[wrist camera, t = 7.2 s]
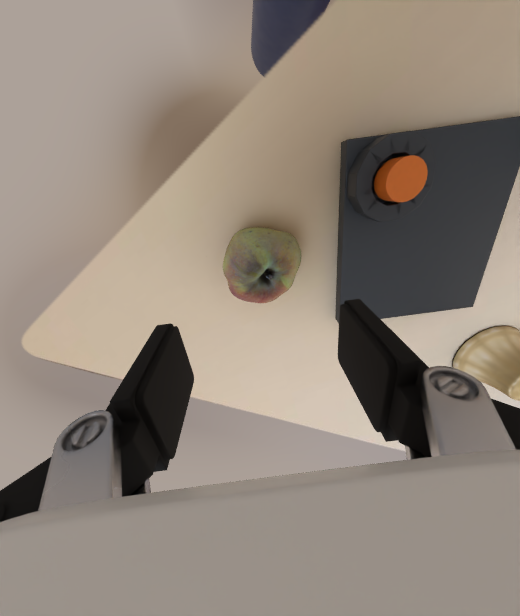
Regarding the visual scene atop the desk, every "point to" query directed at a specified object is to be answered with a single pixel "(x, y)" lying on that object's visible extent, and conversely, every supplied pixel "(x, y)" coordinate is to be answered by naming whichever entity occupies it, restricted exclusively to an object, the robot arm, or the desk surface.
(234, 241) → the apple
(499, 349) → the hand bell
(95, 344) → the desk surface
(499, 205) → the scale
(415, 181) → the button
